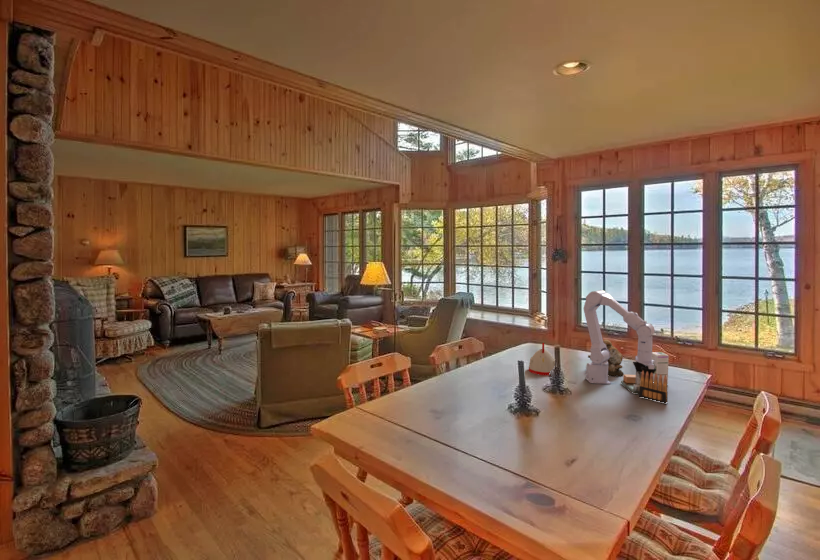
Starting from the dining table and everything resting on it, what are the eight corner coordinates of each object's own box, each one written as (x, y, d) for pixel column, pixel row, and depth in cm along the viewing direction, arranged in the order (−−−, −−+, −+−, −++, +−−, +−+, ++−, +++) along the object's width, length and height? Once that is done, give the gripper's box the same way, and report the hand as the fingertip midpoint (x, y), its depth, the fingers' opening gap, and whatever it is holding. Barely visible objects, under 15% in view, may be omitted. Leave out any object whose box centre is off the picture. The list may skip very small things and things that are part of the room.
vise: (633, 394, 184) (634, 386, 184) (620, 383, 198) (621, 376, 198) (662, 395, 183) (662, 387, 183) (647, 384, 197) (647, 377, 197)
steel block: (646, 386, 190) (647, 371, 189) (649, 388, 187) (650, 373, 186) (635, 386, 190) (635, 371, 190) (638, 388, 187) (638, 373, 187)
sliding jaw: (626, 383, 194) (626, 377, 194) (623, 380, 198) (623, 374, 198) (649, 383, 193) (649, 377, 193) (645, 381, 197) (645, 375, 197)
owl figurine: (582, 370, 220) (583, 338, 218) (593, 366, 228) (593, 335, 226) (618, 378, 206) (619, 344, 205) (627, 373, 214) (629, 341, 213)
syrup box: (668, 385, 196) (669, 354, 195) (655, 385, 196) (656, 354, 195) (661, 381, 202) (662, 351, 201) (648, 381, 202) (650, 351, 201)
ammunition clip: (638, 397, 180) (639, 370, 180) (640, 396, 182) (641, 369, 181) (665, 404, 172) (667, 376, 171) (667, 403, 173) (668, 375, 172)
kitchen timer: (528, 374, 214) (529, 345, 213) (529, 366, 227) (529, 339, 226) (557, 376, 210) (558, 347, 209) (556, 368, 223) (556, 341, 222)
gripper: (662, 355, 179) (660, 385, 180) (646, 347, 194) (645, 375, 195) (644, 354, 180) (643, 385, 181) (630, 346, 194) (629, 375, 196)
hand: (643, 380), depth 188 cm, fingers open, 6 cm apart
